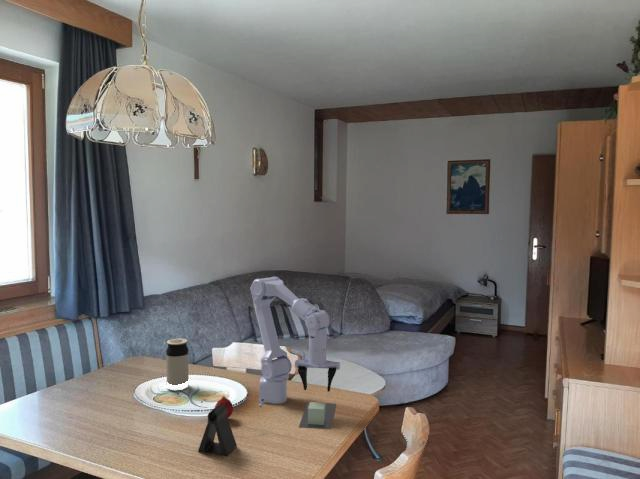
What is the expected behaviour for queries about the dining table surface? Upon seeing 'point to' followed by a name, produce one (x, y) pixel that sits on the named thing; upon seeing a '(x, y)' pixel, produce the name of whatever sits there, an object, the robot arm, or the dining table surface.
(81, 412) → the dining table surface
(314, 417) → the sage green cube
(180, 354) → the travel mug
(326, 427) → the base plate
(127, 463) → the dining table surface
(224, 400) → the onion
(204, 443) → the phone stand
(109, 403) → the dining table surface
